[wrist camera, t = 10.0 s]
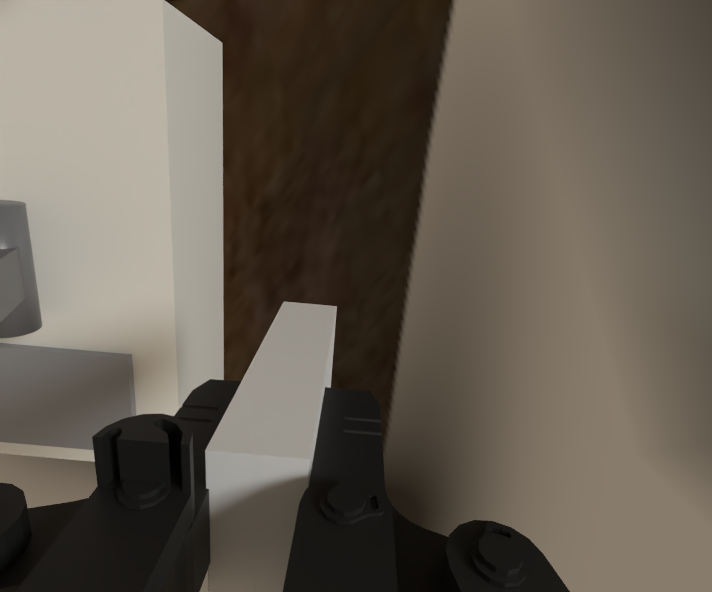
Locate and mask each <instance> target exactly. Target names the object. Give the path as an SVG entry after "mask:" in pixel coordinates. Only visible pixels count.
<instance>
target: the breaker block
mask: <svg viewBox="0 0 712 592" xmlns="http://www.w3.org/2000/svg"><path fill="white" fill-rule="evenodd" d="M0 200H12V201H20V202H24V203H25V204H26V210H27V217H28V225H29V232H30V239H31V246H32V253H33V261H34V268H35V275H36V282H37V289H38V297H39V304H40V311H41V318H42V327H41V328H40V329H39V330H37V331H35V332H33V333H30V334H27V335H23V336H18V337H12V338H0V453H1V454H13V455H24V456H36V457H47V458H48V457H49V458H59V459H71V460H82V461H93V462H95V458H94V449H93V440H92V436H94V435H95V434H96V433H98V432H99V431H100V430H102V429H103V428H104V427H105V426H107V425H110V424H112V423H114V422H117V421H119V420H121V419H123V418H128V417H132V416H137V415H141V414H166V415H171V416H174V415H175V414H176V413H177V411H178V410H179V408H180V407H181V408H182V404H183V403H184V401H185V400H186V399H187V397H188V396H189V394H190V393H191V392H192V390H194V389H195V388H197V387H198V386H200V385H202V384H203V383H205V382H207V381H208V380H210V379H215V380H224V333H223V69H222V42H220V41H219V40H218V39H216V38H215V37H214V36H212V35H211V34H210V33H208V32H207V31H205V30H204V29H203V28H201V27H200V26H199V25H197V24H196V23H195V22H193V21H192V20H191V19H189V18H188V17H187V16H185V15H184V14H182V13H181V12H180V11H178V10H177V9H176V8H174V7H173V6H172V5H170V4H169V3H168V2H166V1H165V0H0Z"/></svg>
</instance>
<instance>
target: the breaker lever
mask: <svg viewBox="0 0 712 592" xmlns="http://www.w3.org/2000/svg"><path fill="white" fill-rule="evenodd" d="M41 327H42V318H41V311H40V304H39V297H38V289H37V282H36V275H35V268H34V261H33V253H32V246H31V239H30V232H29V225H28V217H27V210H26V204H25V203H24V202H20V201H12V200H0V338H12V337H18V336H23V335H27V334H30V333H33V332H35V331H37V330H39V329H40V328H41Z"/></svg>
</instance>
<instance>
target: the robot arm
mask: <svg viewBox="0 0 712 592" xmlns="http://www.w3.org/2000/svg"><path fill="white" fill-rule="evenodd" d="M336 309H337V306H327V305H316V304H304V303H293V302H283V304H282V306H281V308H280V310H279V312H278V314H277V315H276V317H275V319H274V321H273V323H272V325H271V327H270V329H269V331H268V332H267V334H266V336H265V338H264V340H263V342H262V344H261V346H260V348H259V349H258V351H257V353H256V355H255V357H254V359H253V361H252V363H251V365H250V367H249V368H248V370H247V372H246V374H245V376H244V378H243V380H242V382H239V381H227V380H215V379H210V380H208V381H207V382H205V383H203V384H202V385H200V386H198V387H197V388H195V389H194V390H192V392H191V393H190V394H189V396H188V397H187V399H186V400H185V401H184V403H183V404H182V408H181V407H180V408H179V410H178V411H177V413H176V414H175V415H174V416H171V415H166V414H141V415H137V416H132V417H128V418H123V419H121V420H119V421H117V422H114V423H112V424H110V425H107V426H105V427H104V428H103V429H102V430H100V431H99V432H98V433H96V434H95V435H94V436H92V440H93V449H94V458H95V467H96V475H97V484H98V487H97V488H96V489H95V491H94V492H93V493H92V494H91V496H90V497H89V498H87V499H82V500H78V501H73V502H68V503H61V504H54V505H49V506H41V507H35V508H28V509H27V504H26V500H25V496H24V492H23V491H22V490H21V489H19V488H18V487H16V486H14V485H13V484H6V483H0V592H199V591H200V588H201V586H202V583H203V580H204V578H205V575H206V572H207V570H208V591H210V592H570V591H569V590H568V589H567V587H566V586H565V584H564V583H563V581H562V580H561V579H560V577H559V576H558V574H557V573H556V572H555V570H554V569H553V567H552V566H551V565H550V563H549V562H548V560H547V559H546V557H545V556H544V555H543V554H542V552H541V551H540V550H539V549H538V548H537V547H536V546H535V545H534V544H533V543H532V542H531V541H530V539H528V538H527V537H525V536H524V535H522V534H520V533H519V532H517V531H516V530H514V529H512V528H511V527H508V526H505V525H502V524H499V523H496V522H493V521H480V520H473V521H470V522H467V523H464V524H461V525H459V526H458V527H457V528H456V529H455V530H454V531H453V532H452V533H451V534H450V535H449V537H447V536H444V535H441V534H438V533H436V532H433V531H430V530H427V529H424V528H423V527H420V526H418V525H416V524H414V523H412V522H410V521H409V520H408V519H406V518H405V517H403V516H402V515H401V514H400V513H399V512H398V511H397V510H396V509H395V508H394V507H393V506H392V504H391V502H390V500H389V499H388V497H387V493H386V489H385V479H384V462H383V445H382V428H381V411H380V404H379V402H378V401H377V400H376V398H375V397H374V396H373V394H372V393H371V392H370V391H363V390H351V389H340V388H330V387H331V374H332V361H333V348H334V335H335V322H336Z"/></svg>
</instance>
